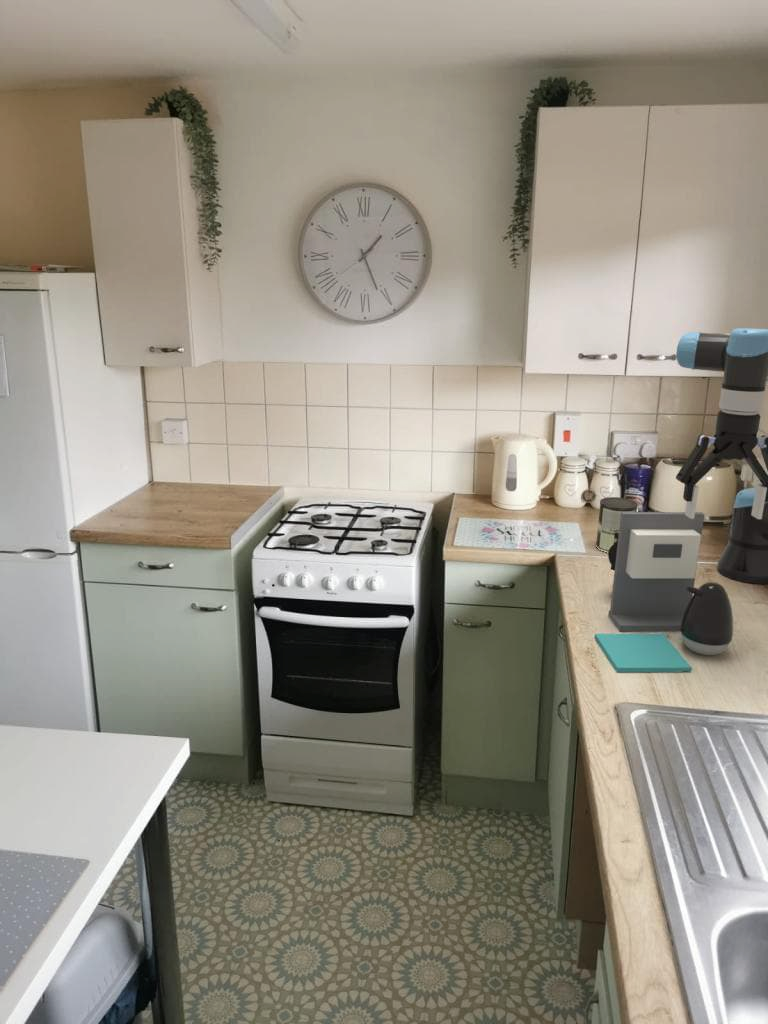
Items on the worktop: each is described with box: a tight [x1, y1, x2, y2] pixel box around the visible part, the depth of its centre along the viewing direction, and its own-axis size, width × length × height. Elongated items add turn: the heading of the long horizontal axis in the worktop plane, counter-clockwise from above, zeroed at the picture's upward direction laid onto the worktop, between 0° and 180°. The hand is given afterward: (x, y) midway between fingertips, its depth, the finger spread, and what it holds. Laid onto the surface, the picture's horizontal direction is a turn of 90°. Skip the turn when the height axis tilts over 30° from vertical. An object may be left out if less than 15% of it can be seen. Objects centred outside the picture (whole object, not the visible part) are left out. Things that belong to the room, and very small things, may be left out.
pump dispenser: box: [680, 581, 734, 656], centre depth 159 cm, size 10×10×15 cm
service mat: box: [594, 633, 693, 673], centre depth 159 cm, size 15×15×1 cm
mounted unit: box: [607, 511, 705, 633], centre depth 169 cm, size 18×8×26 cm, turn 92°
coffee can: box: [595, 496, 639, 552], centre depth 218 cm, size 10×10×14 cm
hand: (722, 517), depth 153 cm, fingers open, 13 cm apart
